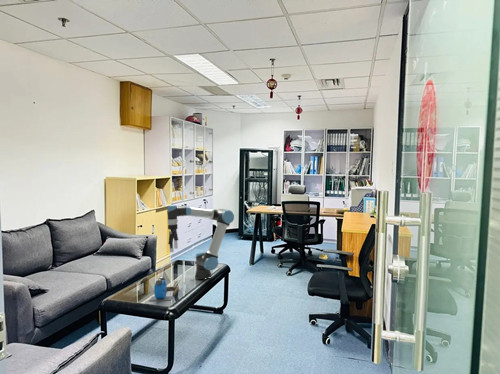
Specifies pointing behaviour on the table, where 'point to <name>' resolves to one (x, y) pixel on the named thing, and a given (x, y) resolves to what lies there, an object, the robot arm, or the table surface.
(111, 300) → the table surface
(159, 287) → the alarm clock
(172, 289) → the clock stand
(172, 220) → the robot arm
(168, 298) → the rubber mat
